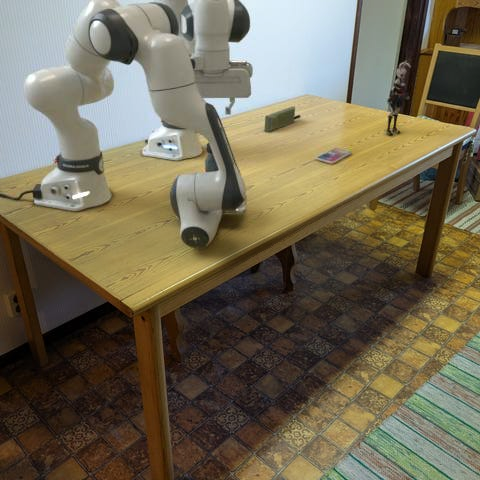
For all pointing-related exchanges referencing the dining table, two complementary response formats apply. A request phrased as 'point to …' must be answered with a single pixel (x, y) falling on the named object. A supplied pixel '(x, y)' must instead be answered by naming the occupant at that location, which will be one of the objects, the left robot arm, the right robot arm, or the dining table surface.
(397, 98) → the figurine
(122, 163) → the dining table surface
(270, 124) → the handheld radio
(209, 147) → the cap
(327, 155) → the smartphone
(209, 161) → the bottle
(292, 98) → the dining table surface
